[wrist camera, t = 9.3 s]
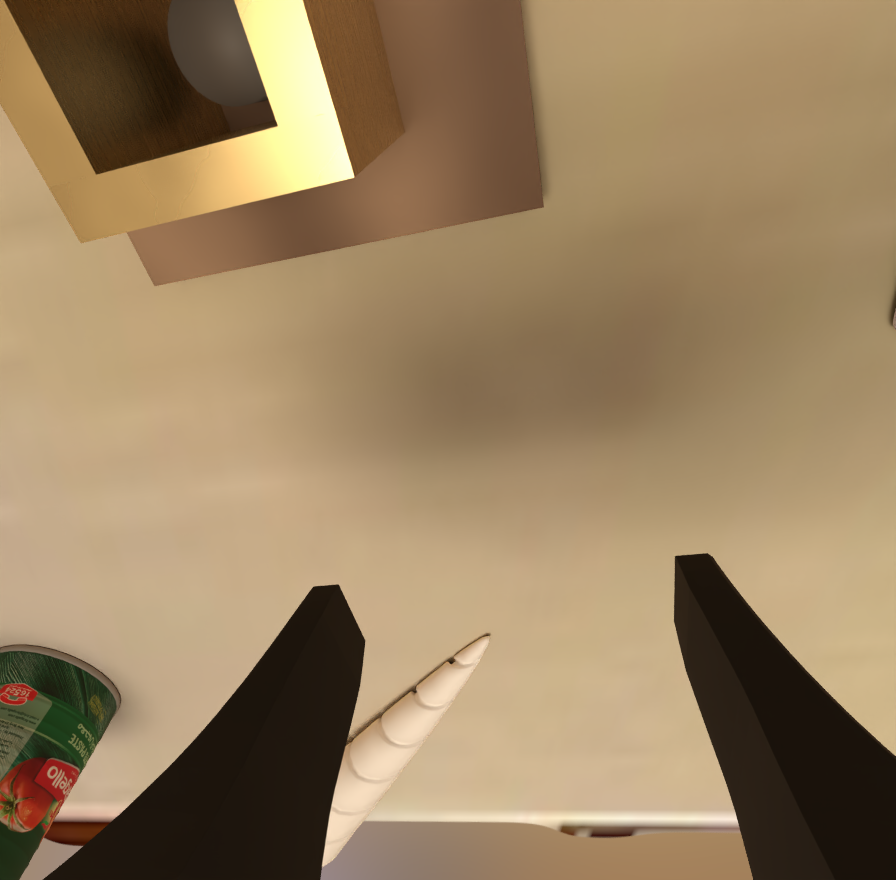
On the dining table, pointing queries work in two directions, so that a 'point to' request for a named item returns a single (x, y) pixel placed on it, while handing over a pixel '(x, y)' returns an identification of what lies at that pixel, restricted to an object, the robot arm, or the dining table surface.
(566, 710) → the dining table surface
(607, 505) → the dining table surface
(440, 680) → the unicorn horn
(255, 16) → the brass collar
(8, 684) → the canned tomato
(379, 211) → the post stand
